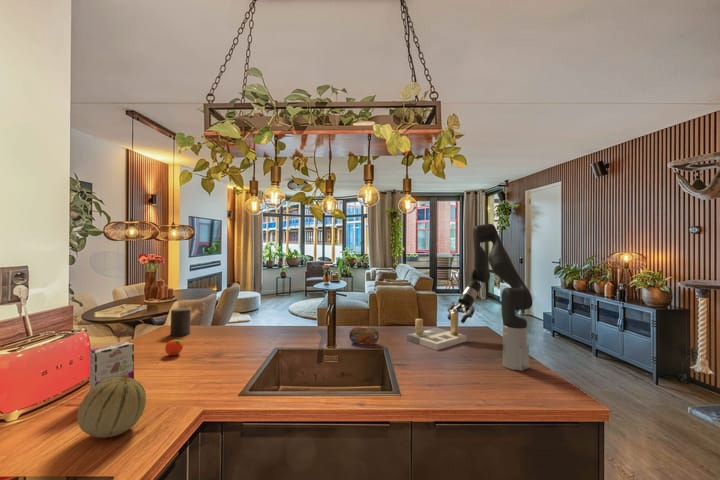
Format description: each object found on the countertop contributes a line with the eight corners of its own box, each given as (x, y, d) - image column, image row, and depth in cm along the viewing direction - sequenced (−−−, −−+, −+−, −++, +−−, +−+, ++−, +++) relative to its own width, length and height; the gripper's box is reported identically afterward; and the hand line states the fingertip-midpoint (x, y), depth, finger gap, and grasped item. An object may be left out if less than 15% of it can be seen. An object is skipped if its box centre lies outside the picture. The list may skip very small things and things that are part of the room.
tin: (349, 343, 167) (349, 327, 167) (350, 341, 171) (350, 325, 171) (378, 345, 165) (378, 328, 165) (379, 343, 168) (379, 327, 168)
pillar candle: (176, 337, 175) (177, 309, 175) (166, 334, 180) (167, 307, 180) (194, 333, 183) (194, 306, 183) (183, 330, 188) (184, 304, 188)
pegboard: (466, 341, 173) (466, 320, 173) (436, 350, 158) (437, 327, 158) (436, 332, 189) (436, 313, 189) (406, 340, 174) (407, 319, 174)
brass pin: (459, 334, 174) (459, 312, 174) (455, 336, 172) (455, 313, 172) (453, 333, 178) (453, 310, 178) (448, 334, 175) (449, 311, 175)
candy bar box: (127, 387, 115) (128, 340, 116) (134, 390, 113) (135, 343, 113) (88, 400, 106) (89, 349, 106) (94, 404, 103) (95, 352, 103)
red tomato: (188, 353, 151) (188, 337, 151) (178, 358, 144) (178, 342, 144) (171, 352, 152) (172, 336, 152) (161, 357, 145) (161, 341, 145)
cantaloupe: (63, 442, 84) (64, 384, 84) (123, 414, 98) (123, 364, 98) (101, 456, 79) (102, 394, 79) (158, 424, 92) (159, 371, 92)
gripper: (454, 291, 186) (441, 313, 179) (476, 294, 175) (463, 319, 168) (460, 299, 189) (447, 322, 182) (482, 303, 178) (469, 327, 171)
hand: (455, 320), depth 175 cm, fingers open, 8 cm apart
